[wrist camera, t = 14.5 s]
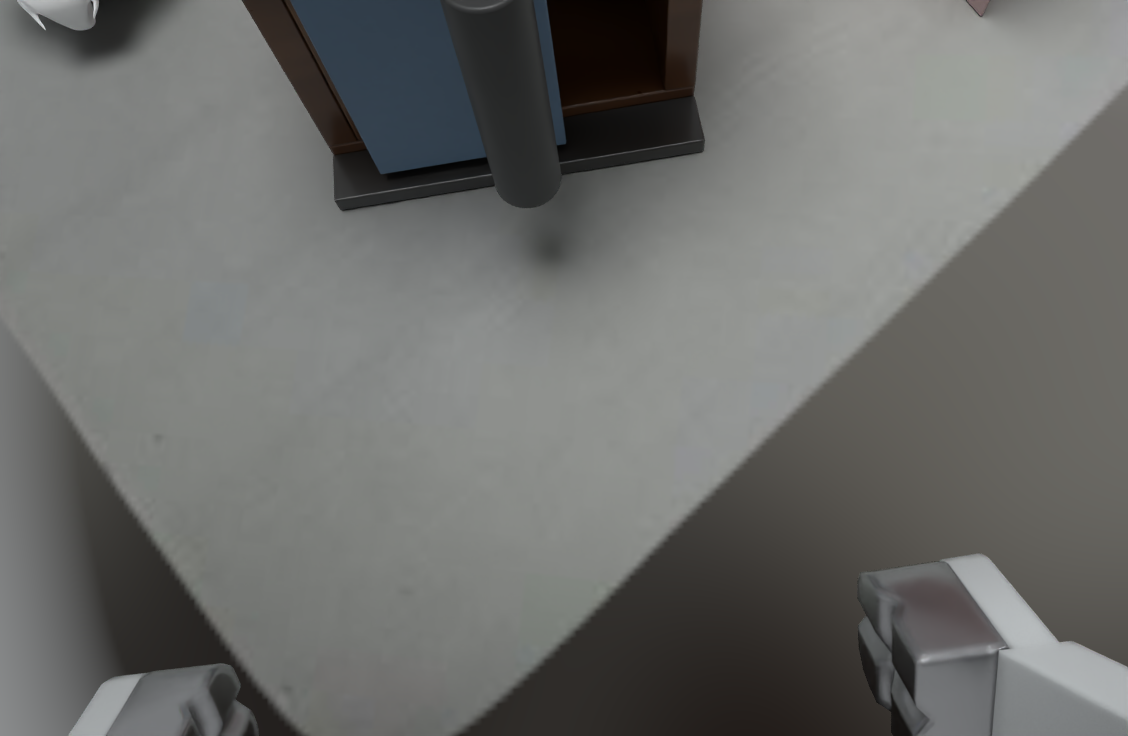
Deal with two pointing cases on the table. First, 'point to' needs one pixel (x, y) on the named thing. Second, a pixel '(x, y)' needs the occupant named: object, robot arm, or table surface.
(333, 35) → the cabinet door
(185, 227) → the table surface
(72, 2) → the elephant figurine
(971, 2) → the greeting card
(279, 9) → the cabinet
